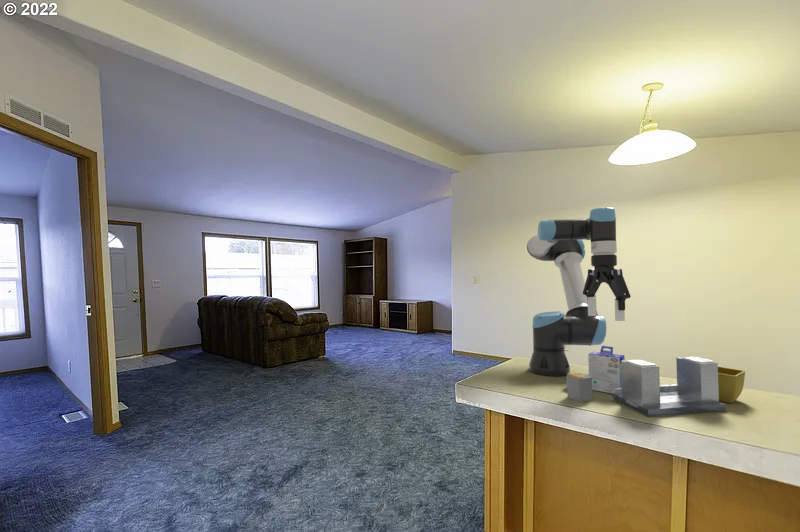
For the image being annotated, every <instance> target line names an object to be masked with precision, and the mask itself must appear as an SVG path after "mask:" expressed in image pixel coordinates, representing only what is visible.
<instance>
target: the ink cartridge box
mask: <svg viewBox="0 0 800 532" xmlns="http://www.w3.org/2000/svg"><path fill="white" fill-rule="evenodd" d="M604 349H609V350H604ZM587 357H588V358H587V360H588V361H587V363H588V376H589V377H592V391H598V392H603V393H608V394H611V395H613V388H622V383H621V361H622V360H626V359H625V354H618V353H617V354H616V353H614V346H607V345H601V348H600V351H592V352H589V353H588V355H587Z"/></svg>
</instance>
